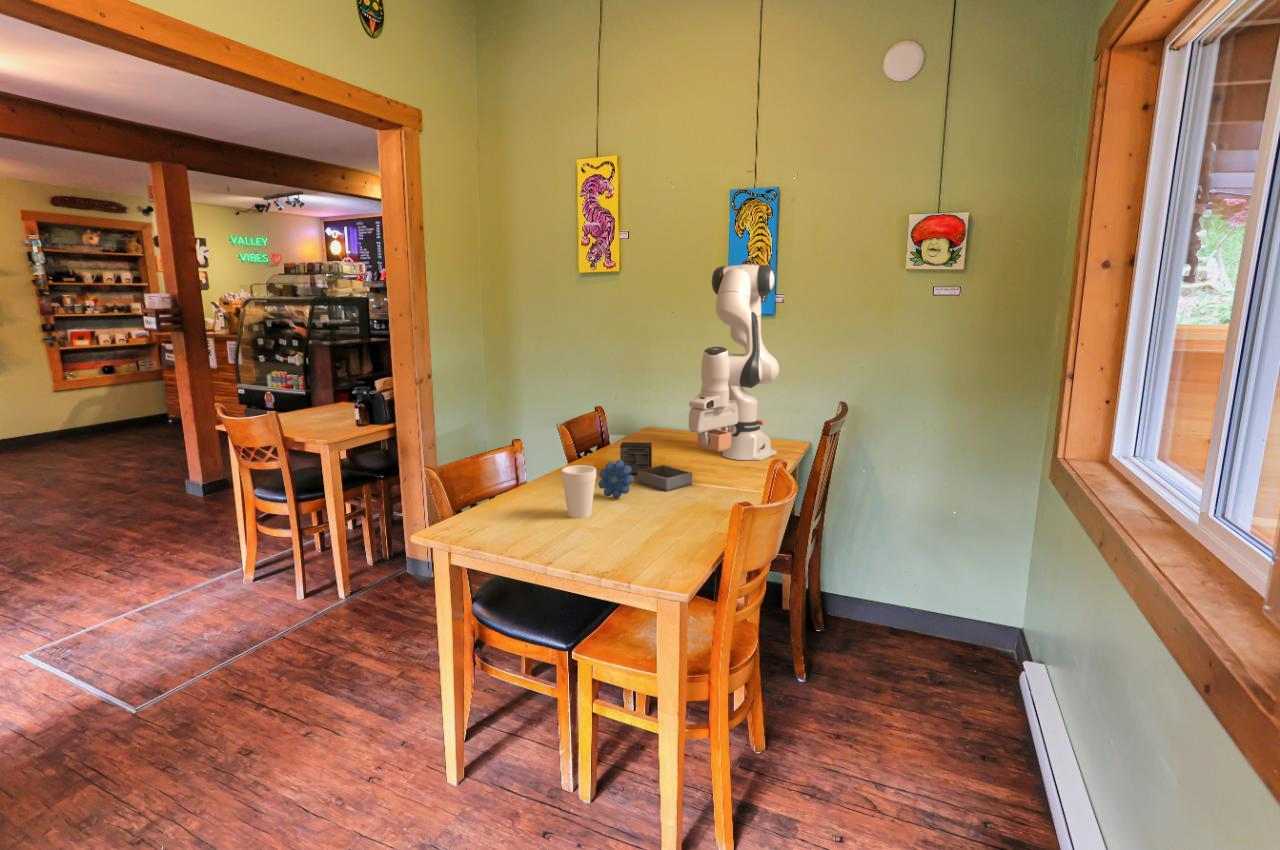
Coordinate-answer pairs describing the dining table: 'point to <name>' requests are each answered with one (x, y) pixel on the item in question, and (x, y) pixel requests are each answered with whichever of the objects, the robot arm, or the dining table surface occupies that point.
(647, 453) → the small box
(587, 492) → the foam cup
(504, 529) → the dining table surface
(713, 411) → the robot arm
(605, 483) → the grapes
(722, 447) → the small crate
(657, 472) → the box
